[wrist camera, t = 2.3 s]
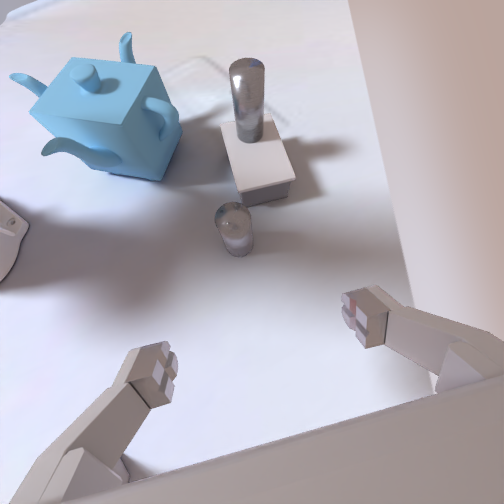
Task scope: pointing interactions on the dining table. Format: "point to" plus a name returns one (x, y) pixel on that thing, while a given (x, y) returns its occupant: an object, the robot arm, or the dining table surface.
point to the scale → (259, 164)
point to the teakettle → (108, 114)
